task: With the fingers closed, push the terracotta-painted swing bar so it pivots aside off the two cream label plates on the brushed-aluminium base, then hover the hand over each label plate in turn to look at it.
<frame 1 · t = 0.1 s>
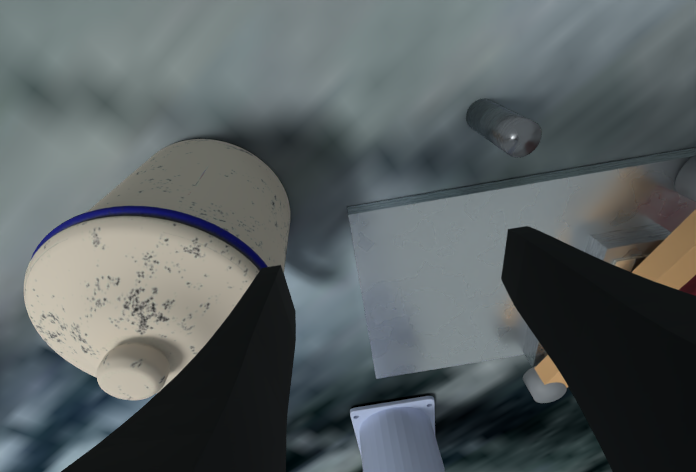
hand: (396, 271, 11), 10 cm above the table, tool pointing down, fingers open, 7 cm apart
base plate: (511, 276, 25), on the table
teacup with lid: (235, 224, 21), on the table
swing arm: (622, 294, 23), point 3 cm above the table, hinge at 150.0°
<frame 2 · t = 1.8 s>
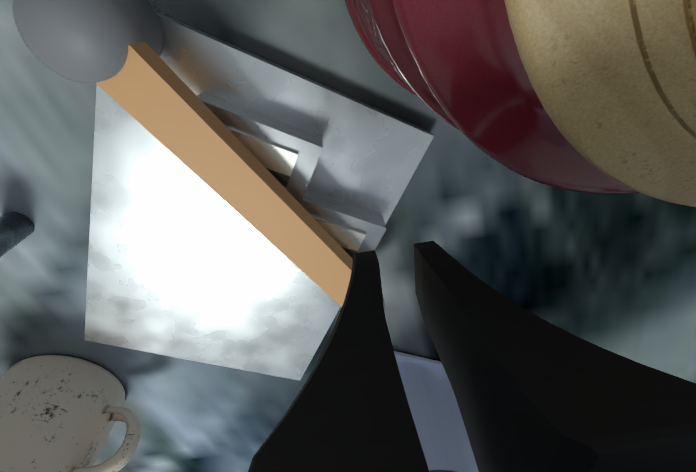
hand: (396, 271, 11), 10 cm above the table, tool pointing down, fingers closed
base plate: (237, 243, 22), on the table
teacup with lid: (90, 383, 29), on the table
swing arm: (258, 187, 17), point 3 cm above the table, hinge at 150.0°
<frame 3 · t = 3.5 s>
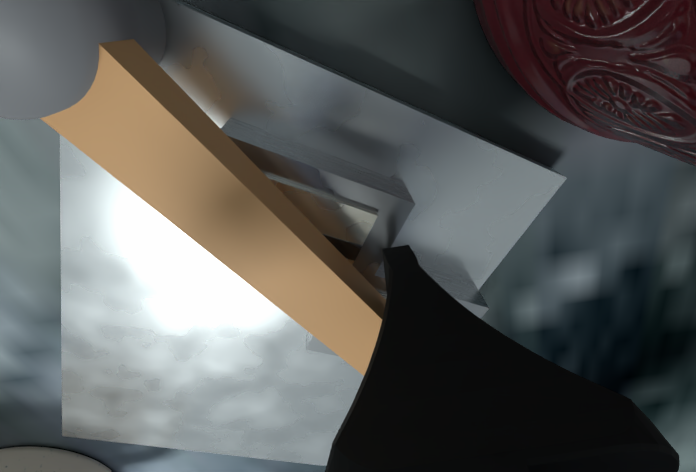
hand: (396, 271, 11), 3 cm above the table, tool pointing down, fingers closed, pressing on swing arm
base plate: (267, 315, 16), on the table
teacup with lid: (74, 471, 23), on the table
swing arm: (312, 265, 11), point 3 cm above the table, hinge at 149.6°, touching gripper
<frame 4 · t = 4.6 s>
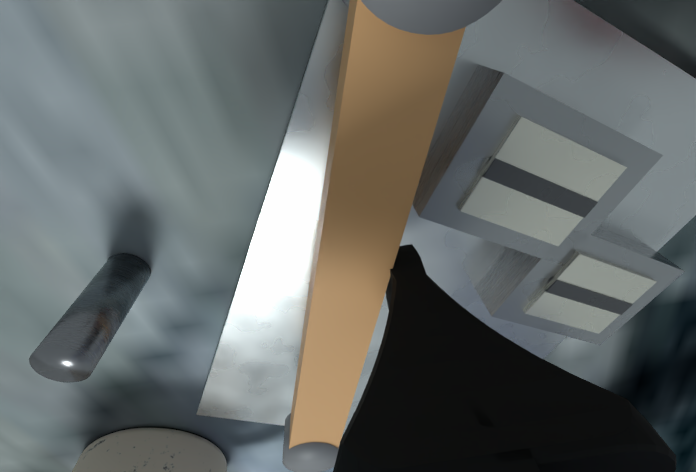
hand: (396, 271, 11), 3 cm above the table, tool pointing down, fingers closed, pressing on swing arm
base plate: (424, 287, 16), on the table
teacup with lid: (182, 454, 22), on the table
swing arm: (342, 272, 11), point 3 cm above the table, hinge at 102.9°, touching gripper
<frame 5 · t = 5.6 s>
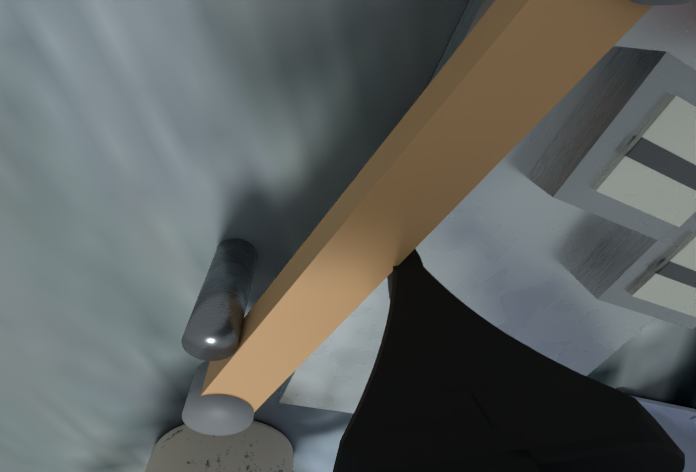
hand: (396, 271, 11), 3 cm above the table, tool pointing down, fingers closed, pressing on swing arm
base plate: (515, 273, 16), on the table
teacup with lid: (249, 445, 22), on the table
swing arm: (366, 215, 10), point 3 cm above the table, hinge at 75.6°, touching base plate, gripper
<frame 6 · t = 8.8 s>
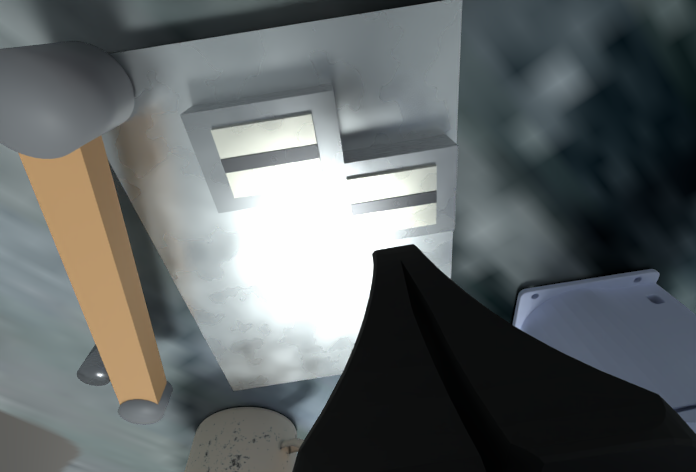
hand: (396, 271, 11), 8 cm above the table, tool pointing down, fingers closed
base plate: (312, 245, 20), on the table
teacup with lid: (261, 424, 30), on the table
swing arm: (117, 279, 16), point 3 cm above the table, hinge at 75.6°, touching base plate
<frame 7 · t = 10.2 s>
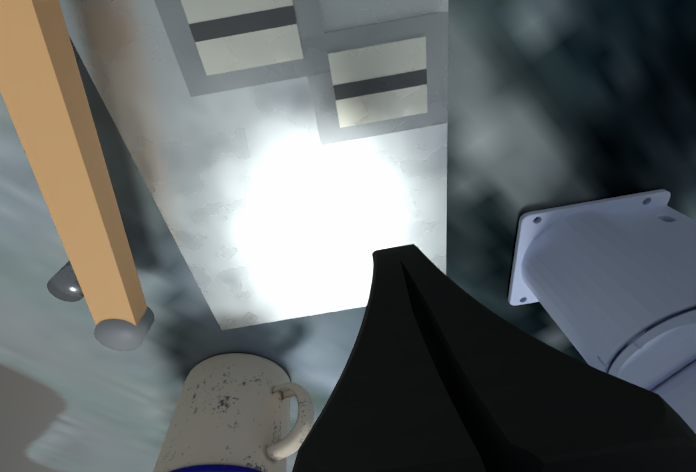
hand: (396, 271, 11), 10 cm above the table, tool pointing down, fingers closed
base plate: (298, 158, 19), on the table
teacup with lid: (253, 375, 29), on the table
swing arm: (86, 175, 15), point 3 cm above the table, hinge at 75.6°, touching base plate
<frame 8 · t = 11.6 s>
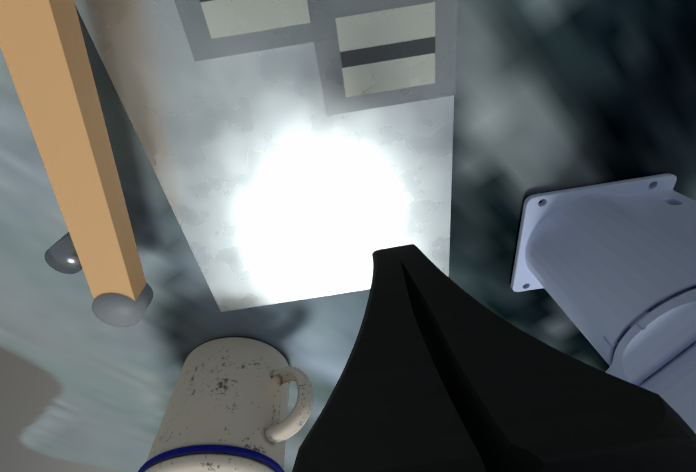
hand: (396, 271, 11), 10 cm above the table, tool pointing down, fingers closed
base plate: (302, 133, 19), on the table
teacup with lid: (252, 360, 29), on the table
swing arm: (86, 142, 15), point 3 cm above the table, hinge at 75.6°, touching base plate
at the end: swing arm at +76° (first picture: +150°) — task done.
